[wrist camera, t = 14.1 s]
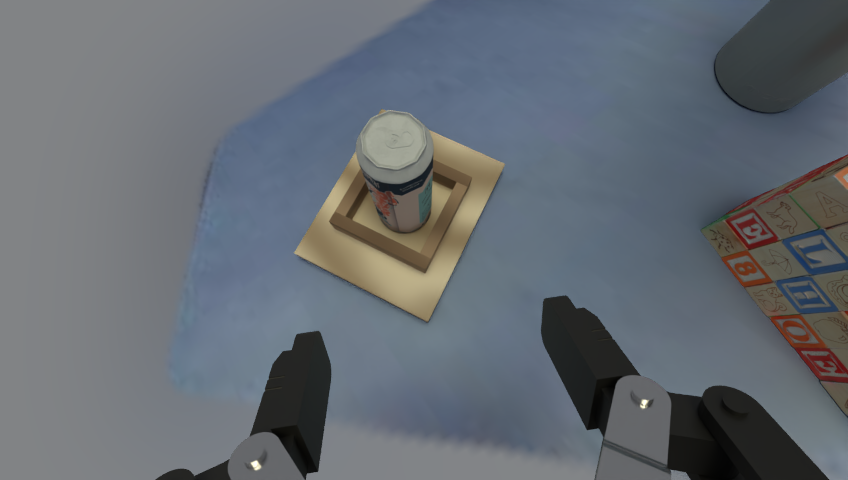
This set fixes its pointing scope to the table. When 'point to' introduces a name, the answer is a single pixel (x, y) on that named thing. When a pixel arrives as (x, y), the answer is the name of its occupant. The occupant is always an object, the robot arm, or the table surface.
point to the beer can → (398, 169)
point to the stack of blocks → (797, 265)
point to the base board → (403, 252)
